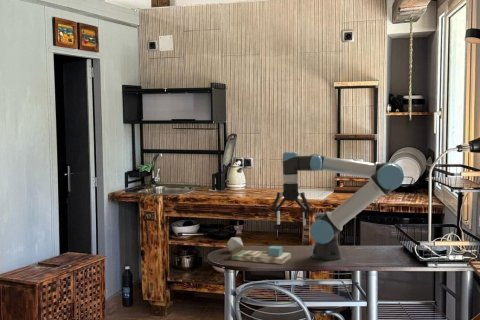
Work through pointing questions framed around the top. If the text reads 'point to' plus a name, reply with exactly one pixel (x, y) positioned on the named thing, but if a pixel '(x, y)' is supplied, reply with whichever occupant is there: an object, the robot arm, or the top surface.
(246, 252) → the trap board
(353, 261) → the top surface
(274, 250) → the block
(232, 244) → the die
